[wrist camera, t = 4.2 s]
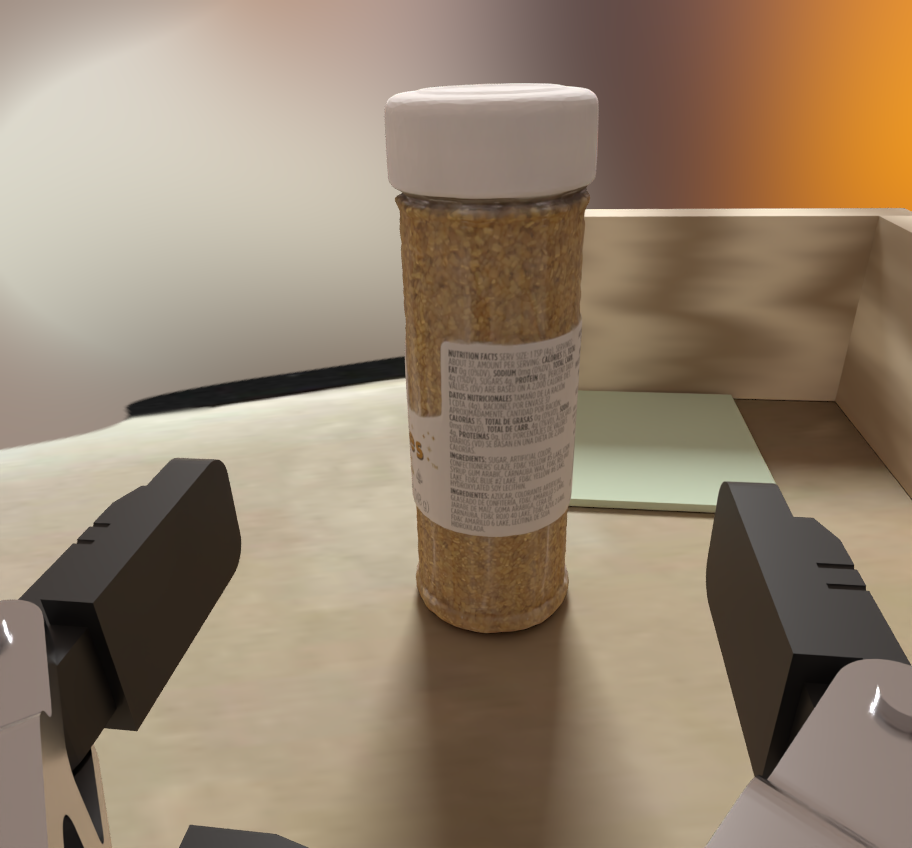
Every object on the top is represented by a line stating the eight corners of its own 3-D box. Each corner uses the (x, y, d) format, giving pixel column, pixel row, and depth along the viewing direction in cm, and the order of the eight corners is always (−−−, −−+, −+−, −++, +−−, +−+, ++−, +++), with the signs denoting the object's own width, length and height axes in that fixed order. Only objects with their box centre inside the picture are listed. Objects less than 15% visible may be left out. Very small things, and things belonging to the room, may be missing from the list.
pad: (730, 400, 32) (731, 394, 32) (786, 515, 24) (788, 508, 24) (527, 394, 33) (527, 389, 33) (517, 503, 25) (517, 496, 25)
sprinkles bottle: (422, 540, 23) (395, 85, 17) (563, 540, 23) (586, 79, 17) (408, 643, 19) (366, 95, 13) (579, 644, 19) (617, 88, 13)
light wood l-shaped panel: (858, 388, 33) (903, 208, 29) (1124, 687, 17) (1291, 385, 14) (487, 378, 35) (485, 209, 31) (430, 638, 19) (415, 365, 16)
